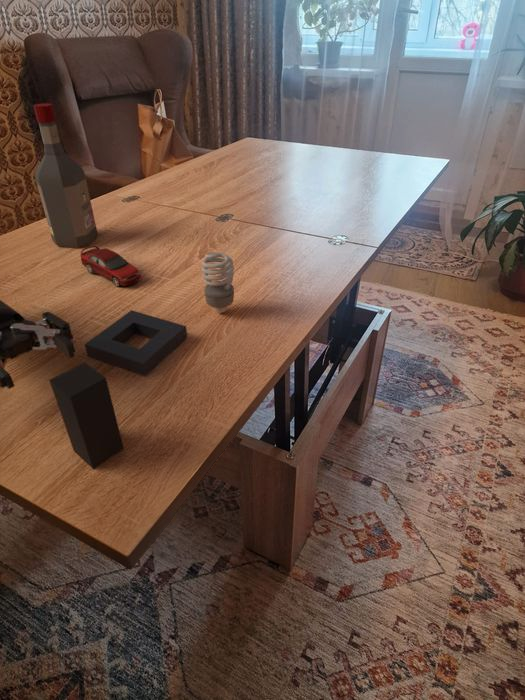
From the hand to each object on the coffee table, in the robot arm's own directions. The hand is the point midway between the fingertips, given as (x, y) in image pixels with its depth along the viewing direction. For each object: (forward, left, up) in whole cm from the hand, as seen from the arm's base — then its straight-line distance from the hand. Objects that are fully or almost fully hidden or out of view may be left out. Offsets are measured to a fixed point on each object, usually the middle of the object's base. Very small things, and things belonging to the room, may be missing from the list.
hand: (42, 366), depth 63 cm
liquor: (+20, +60, -9) cm, 64 cm away
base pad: (+16, +9, -8) cm, 20 cm away
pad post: (+3, -10, -8) cm, 13 cm away
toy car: (+21, +37, -9) cm, 43 cm away
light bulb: (+33, +11, -9) cm, 36 cm away
